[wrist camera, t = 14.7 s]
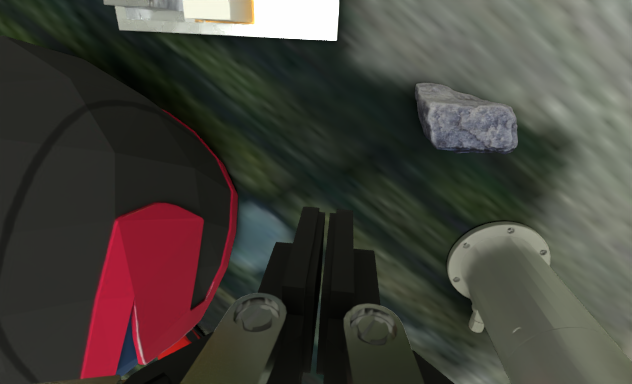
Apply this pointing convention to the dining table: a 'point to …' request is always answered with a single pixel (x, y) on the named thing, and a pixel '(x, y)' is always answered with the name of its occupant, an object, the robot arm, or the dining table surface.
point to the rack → (267, 21)
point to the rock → (464, 121)
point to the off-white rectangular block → (218, 10)
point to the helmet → (100, 221)
